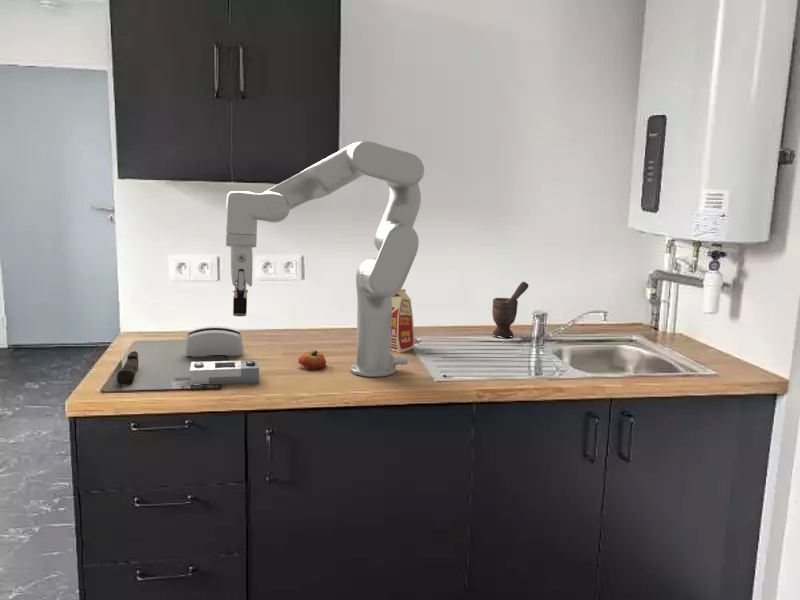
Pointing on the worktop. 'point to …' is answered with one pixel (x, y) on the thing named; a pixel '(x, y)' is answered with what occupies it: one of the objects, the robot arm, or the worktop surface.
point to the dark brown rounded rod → (128, 369)
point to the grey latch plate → (224, 372)
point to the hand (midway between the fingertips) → (239, 311)
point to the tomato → (312, 360)
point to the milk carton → (402, 323)
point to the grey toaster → (214, 341)
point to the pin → (233, 304)
